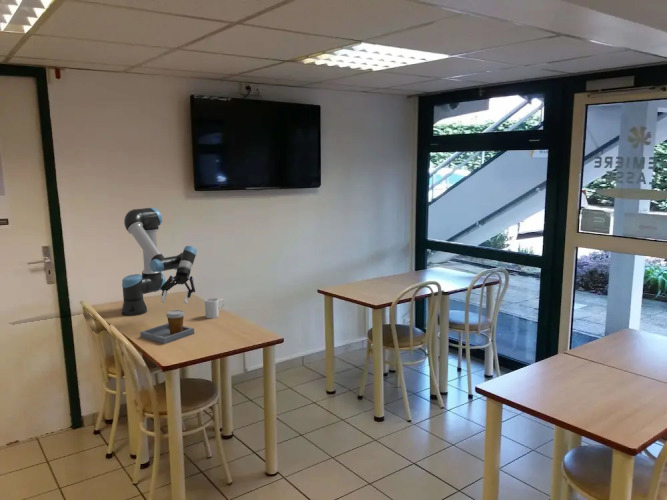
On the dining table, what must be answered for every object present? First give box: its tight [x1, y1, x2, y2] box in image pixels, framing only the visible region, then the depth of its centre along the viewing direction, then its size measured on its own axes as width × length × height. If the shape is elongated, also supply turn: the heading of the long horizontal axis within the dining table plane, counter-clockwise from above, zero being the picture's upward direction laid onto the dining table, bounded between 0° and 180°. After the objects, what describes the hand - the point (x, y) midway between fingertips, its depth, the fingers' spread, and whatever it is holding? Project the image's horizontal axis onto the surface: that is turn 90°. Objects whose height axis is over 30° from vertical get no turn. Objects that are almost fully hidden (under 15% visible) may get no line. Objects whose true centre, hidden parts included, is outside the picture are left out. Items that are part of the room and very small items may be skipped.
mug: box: [204, 297, 226, 319], centre depth 324 cm, size 12×8×10 cm, turn 125°
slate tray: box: [139, 322, 195, 345], centre depth 289 cm, size 20×20×3 cm
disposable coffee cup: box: [166, 309, 185, 335], centre depth 290 cm, size 10×10×12 cm
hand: (173, 301), depth 296 cm, fingers open, 13 cm apart
